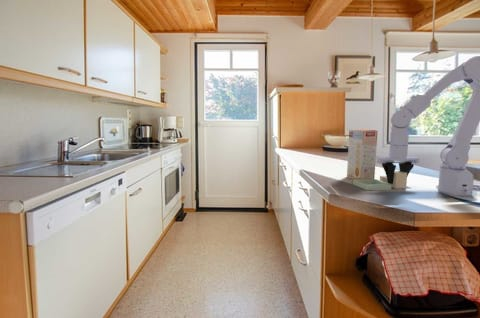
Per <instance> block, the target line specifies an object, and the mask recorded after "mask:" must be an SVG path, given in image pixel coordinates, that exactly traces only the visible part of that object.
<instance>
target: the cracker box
mask: <svg viewBox="0 0 480 318" xmlns="http://www.w3.org/2000/svg"><path fill="white" fill-rule="evenodd" d="M348 132H349V133H348V147H347V148H348V152H347V168H346V169H347V170H346V178H348V179H349V180H352V181H353V179H375V177H376V176H375V175H376V174H375V173H376V163H377V148H378V147H377V146H378V130H375V129H365V128H364V129H363V128H362V129H357V128H354V129H349V131H348Z"/></svg>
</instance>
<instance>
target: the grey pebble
mask: <svg viewBox="0 0 480 318" xmlns="http://www.w3.org/2000/svg"><path fill="white" fill-rule="evenodd" d="M379 180H380V181H383V182H386V183H388V181H387V176H386V175H380V176H379ZM388 184H389V183H388Z"/></svg>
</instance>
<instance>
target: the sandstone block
mask: <svg viewBox="0 0 480 318" xmlns="http://www.w3.org/2000/svg"><path fill="white" fill-rule="evenodd" d="M407 181H408V176H407V173H406V172H402V171H400V170H395V171H394V179H393V184H391V187H392V188H395V189H396V190H398V189H399V190H402V189H401V188H406V186H407V183H408V182H407ZM389 184H390V183H389ZM395 189H394V190H395Z"/></svg>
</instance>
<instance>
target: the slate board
mask: <svg viewBox="0 0 480 318" xmlns="http://www.w3.org/2000/svg"><path fill="white" fill-rule="evenodd" d="M403 189H404V190H406V189H407V190H409V189H410V190H411V187H410V186H407V185H406V188H401V189H400V190H403ZM391 190H395V188H392V187H391Z"/></svg>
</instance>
